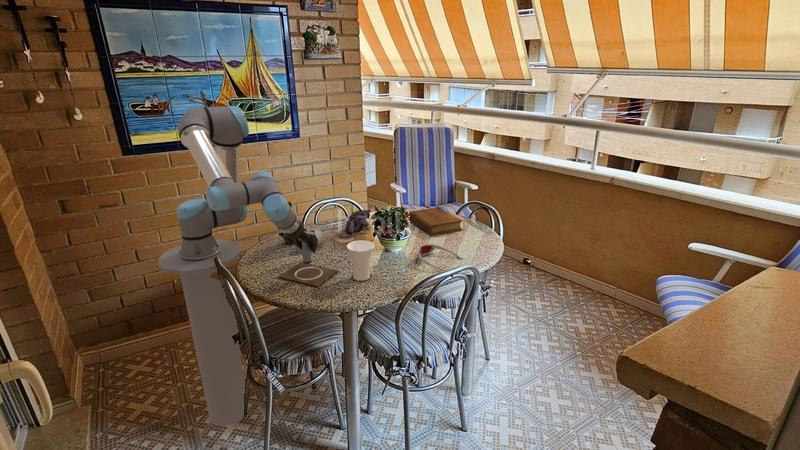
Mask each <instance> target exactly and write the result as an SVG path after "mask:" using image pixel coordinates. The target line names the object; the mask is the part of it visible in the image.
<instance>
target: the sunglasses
mask: <svg viewBox="0 0 800 450" xmlns="http://www.w3.org/2000/svg"><path fill="white" fill-rule="evenodd" d="M436 249H437V250H441V251H444V252H448V253H450V254H452V255H454V256H455V257H457V258H458V259H462V257H461V256H460V255H458V254H456V253H455V252H453V251H451V250H450V249H447V248H445V247H443V246H441V245H438V244H434V243H425V244H421V245H419V246H418V248H417V250H416V252H417V253H416V262H417V263H418V264H419V263H424V264H425V265H427V266H430V267H433V268H435V269H437V270H439V271H441V272H444V271H445V270H446V269H444V268H441V267H439V266H437V265H434V264H432V263H431V262H429V261H427V260H426V259H425V258H423V257H424V256H426V255H428V254H430V253H432V252H433V251H435V250H436ZM422 256H423V257H422Z"/></svg>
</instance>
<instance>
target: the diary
mask: <svg viewBox="0 0 800 450" xmlns="http://www.w3.org/2000/svg"><path fill="white" fill-rule="evenodd" d="M409 215H410V217H409ZM408 221H409V222H411V223H412V224H413V225H415V226H417V227H418V228H419V229H421V230H422V231H423V232H425V233H426V234H428V235H429V236H431V237H433V236H438V235H445V234H449V233H455V232H461V231H462V229H463V228H462V227H461V223H463V219H461V218H460V217H457V216H456V215H455V214H452V213H451V212H448V211H446V210H445V209H443V208H442V207H440V206H436V207H431V208H424V209H418V210H417V209H416V210H411V211H409V212H408Z"/></svg>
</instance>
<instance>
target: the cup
mask: <svg viewBox="0 0 800 450" xmlns="http://www.w3.org/2000/svg"><path fill="white" fill-rule="evenodd" d="M346 248H347V251H348V254H349V256H350V259H351V262H352V268H353V277H352V278H353V279H354V280H355V281H359V282H362V281H368V280H369V279H370V278H371V275H370V264H371V258H372V255H373V252H374V249H375V243H374V242H373V241H370V240H363V239H362V240H359V239H358V240H353V241H350V242H349V243H347V245H346Z"/></svg>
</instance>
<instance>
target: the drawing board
mask: <svg viewBox="0 0 800 450" xmlns="http://www.w3.org/2000/svg"><path fill="white" fill-rule="evenodd" d="M338 271H339V270H337V269H332V268H328V267H324V266H319V265H314V264H311V263H309V264H304V263H303V261H302V262H299V263H298V264H296V265H295V266H293V267H292V268H290V269H289V270H287V271H285V272H284V273H282V274H281V275H279V276H278V278H279V279H283V280H285V281H290V282H295V283H299V284H302V285H306V286H310V287H314V288H319V287H320V286H321V285H323V284H324V283H326V281H328V280H329V279H330V278H332V277H333V276H334V275H335V274H337V273H338Z"/></svg>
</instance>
